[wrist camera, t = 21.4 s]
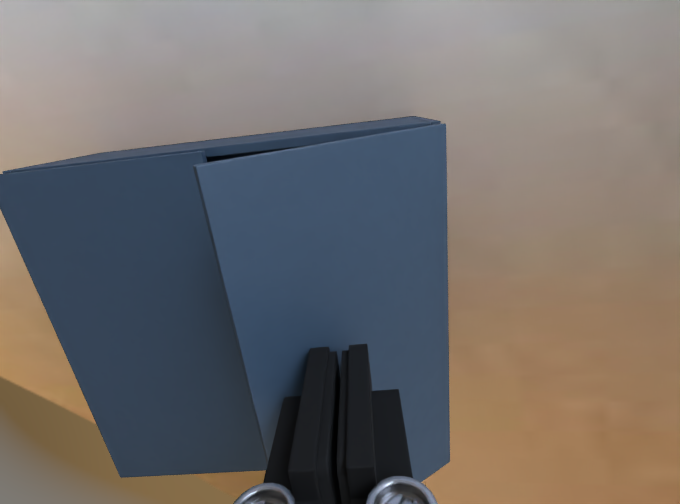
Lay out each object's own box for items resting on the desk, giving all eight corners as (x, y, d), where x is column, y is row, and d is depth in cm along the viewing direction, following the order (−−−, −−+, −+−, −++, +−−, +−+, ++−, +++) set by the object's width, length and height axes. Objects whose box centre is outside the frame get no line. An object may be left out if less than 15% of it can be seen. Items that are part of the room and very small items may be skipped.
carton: (100, 152, 18) (-18, 175, 12) (414, 116, 17) (445, 121, 11) (177, 385, 23) (119, 478, 17) (425, 369, 21) (449, 462, 16)
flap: (192, 164, 8) (194, 165, 8) (439, 123, 11) (446, 123, 11) (291, 563, 13) (295, 572, 13) (444, 456, 16) (450, 461, 16)
